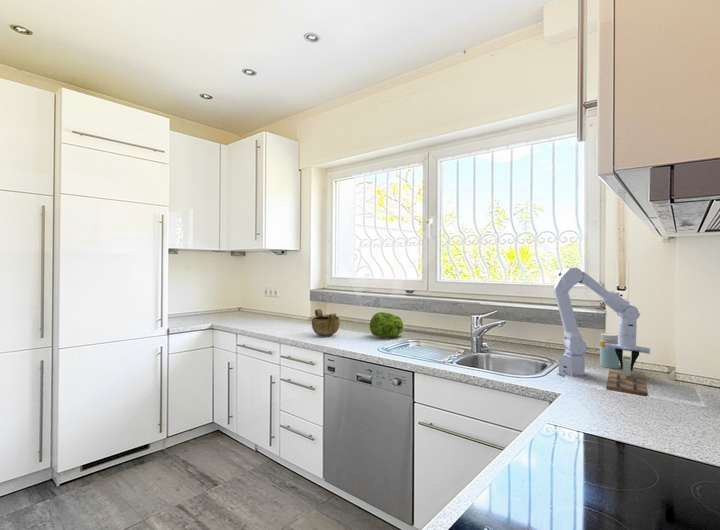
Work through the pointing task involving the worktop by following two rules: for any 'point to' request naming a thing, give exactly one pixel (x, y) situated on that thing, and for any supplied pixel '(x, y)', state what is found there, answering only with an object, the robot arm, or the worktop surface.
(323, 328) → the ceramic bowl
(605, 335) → the bottle
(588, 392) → the worktop surface
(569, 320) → the robot arm
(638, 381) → the hinge board
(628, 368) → the door panel
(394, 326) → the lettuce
